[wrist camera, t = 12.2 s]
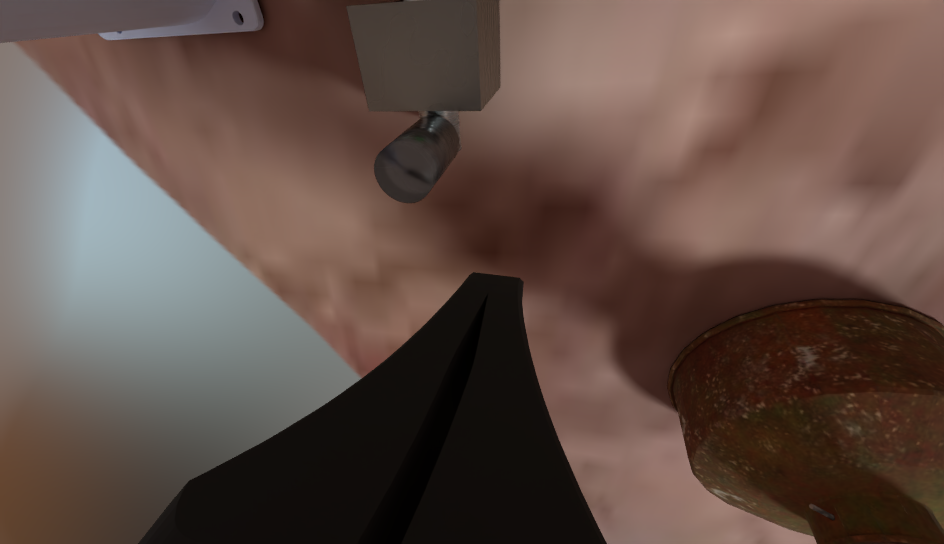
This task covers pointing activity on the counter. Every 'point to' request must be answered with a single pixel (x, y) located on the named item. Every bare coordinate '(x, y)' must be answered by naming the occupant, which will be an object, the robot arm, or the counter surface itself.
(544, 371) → the counter surface
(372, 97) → the pin mount
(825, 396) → the oil lamp
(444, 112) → the pin
